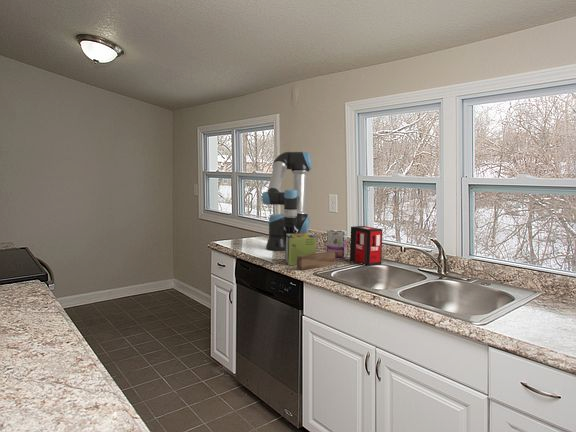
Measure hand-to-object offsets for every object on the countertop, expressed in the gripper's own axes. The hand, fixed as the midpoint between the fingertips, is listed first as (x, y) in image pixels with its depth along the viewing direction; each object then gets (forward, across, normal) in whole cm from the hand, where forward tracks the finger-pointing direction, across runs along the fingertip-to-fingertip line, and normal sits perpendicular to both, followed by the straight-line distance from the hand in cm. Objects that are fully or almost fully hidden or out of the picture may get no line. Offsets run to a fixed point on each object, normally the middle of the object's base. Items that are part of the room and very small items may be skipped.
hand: (289, 257), depth 250 cm
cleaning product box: (+2, +30, +31) cm, 43 cm away
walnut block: (+2, +23, 0) cm, 23 cm away
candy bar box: (+2, +8, +30) cm, 31 cm away
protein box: (+1, +10, -1) cm, 10 cm away
